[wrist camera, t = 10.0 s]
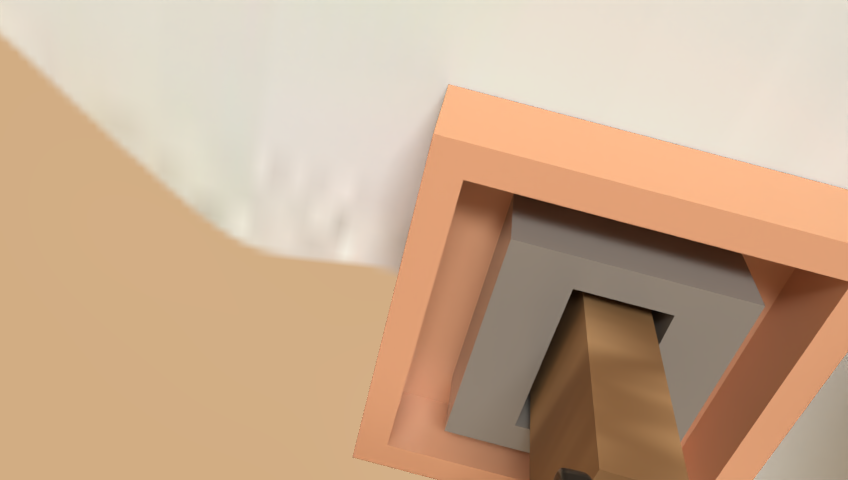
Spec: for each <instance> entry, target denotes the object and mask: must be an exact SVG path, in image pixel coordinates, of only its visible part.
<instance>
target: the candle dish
mask: <svg viewBox="0 0 848 480" xmlns="http://www.w3.org/2000/svg"><path fill="white" fill-rule="evenodd" d="M573 289H575V290H579V291H583V292H587V293H591V294H594V295H598V296H602V297H606V298H610V299H613V300H617V301H621V302H625V303H629V304H632V305H636V306H640V307H644V308H648V309H651V312H652V317H653V321H654V326H655V330H656V335H657V339H658V344H659V348H660V353H661V357H662V362H663V366H664V371H665V375H666V379H667V384H668V388H669V393H670V397H671V402H672V406H673V411H674V415H675V420H676V424H677V429H678V433H679V438H680V442H681V447H682V451H683V456H684V460H685V465H686V469H687V474H688V478H689V480H753V479H754V478H755V476H756V475H757V474H758V472H759V471H760V470H761V468H762V467H763V466H764V464H765V463H766V462H767V460H768V459H769V457H770V456H771V455H772V453H773V452H774V451H775V449H776V448H777V447H778V445H779V444H780V443H781V441H782V440H783V439H784V437H785V436H786V434H787V433H788V432H789V430H790V429H791V428H792V426H793V425H794V424H795V422H796V421H797V420H798V418H799V417H800V416H801V414H802V413H803V411H804V410H805V409H806V407H807V406H808V405H809V403H810V402H811V401H812V399H813V398H814V397H815V395H816V394H817V393H818V391H819V390H820V388H821V387H822V386H823V384H824V383H825V382H826V380H827V379H828V378H829V376H830V375H831V374H832V372H833V371H834V370H835V368H836V367H837V365H838V364H839V363H840V361H841V360H842V359H843V357H844V356H845V355H846V353H847V352H848V190H847V189H843V188H839V187H835V186H832V185H828V184H824V183H820V182H816V181H813V180H809V179H805V178H801V177H798V176H794V175H790V174H786V173H782V172H779V171H775V170H771V169H767V168H763V167H760V166H756V165H752V164H748V163H745V162H741V161H737V160H733V159H729V158H726V157H722V156H718V155H714V154H710V153H707V152H703V151H699V150H695V149H692V148H688V147H684V146H680V145H676V144H673V143H669V142H665V141H661V140H657V139H654V138H650V137H646V136H642V135H639V134H635V133H631V132H627V131H623V130H620V129H616V128H612V127H608V126H604V125H601V124H597V123H593V122H589V121H586V120H582V119H578V118H574V117H570V116H567V115H563V114H559V113H555V112H551V111H548V110H544V109H540V108H536V107H533V106H529V105H525V104H521V103H517V102H514V101H510V100H506V99H502V98H498V97H495V96H491V95H487V94H483V93H480V92H476V91H472V90H468V89H464V88H461V87H457V86H453V85H448V88H447V91H446V95H445V98H444V101H443V104H442V107H441V111H440V114H439V117H438V120H437V124H436V127H435V130H434V133H433V137H432V141H431V145H430V149H429V153H428V157H427V161H426V165H425V169H424V173H423V177H422V181H421V185H420V189H419V193H418V197H417V201H416V205H415V209H414V213H413V217H412V221H411V225H410V229H409V233H408V237H407V241H406V245H405V249H404V253H403V257H402V261H401V265H400V269H399V273H398V277H397V281H396V285H395V289H394V293H393V297H392V302H391V305H390V310H389V314H388V317H387V321H386V325H385V329H384V333H383V337H382V341H381V345H380V349H379V354H378V358H377V361H376V365H375V369H374V374H373V377H372V382H371V385H370V390H369V393H368V397H367V401H366V405H365V409H364V413H363V417H362V421H361V425H360V429H359V433H358V438H357V441H356V445H355V449H354V453H353V458H357V459H361V460H365V461H368V462H372V463H376V464H380V465H384V466H388V467H391V468H395V469H399V470H403V471H407V472H410V473H414V474H418V475H422V476H426V477H429V478H433V479H437V480H529V477H530V389H531V387H532V384H533V382H534V380H535V377H536V375H537V373H538V370H539V368H540V366H541V363H542V361H543V359H544V356H545V354H546V351H547V349H548V347H549V344H550V342H551V340H552V337H553V335H554V333H555V330H556V328H557V326H558V323H559V321H560V319H561V316H562V314H563V311H564V309H565V307H566V304H567V302H568V300H569V297H570V295H571V293H572V290H573Z"/></svg>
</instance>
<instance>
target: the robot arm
mask: <svg viewBox="0 0 848 480" xmlns="http://www.w3.org/2000/svg"><path fill="white" fill-rule="evenodd" d="M553 480H592V479H591V477H590V476H589V475H588V474H587V473H585V472H582V471H578V470H573V469H569V468H560V469H559V470H558V471H557V472H556V474H555V476H554V479H553Z"/></svg>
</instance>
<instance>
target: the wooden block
mask: <svg viewBox="0 0 848 480" xmlns="http://www.w3.org/2000/svg"><path fill="white" fill-rule="evenodd" d="M560 468H569V469H573V470H578V471H582V472H585V473H587V474H588V475H589V476H590V477H591V479H592V480H689V478H688V474H687V469H686V465H685V460H684V456H683V451H682V447H681V442H680V438H679V433H678V429H677V424H676V420H675V415H674V411H673V406H672V402H671V397H670V393H669V388H668V384H667V379H666V375H665V371H664V366H663V362H662V357H661V353H660V348H659V344H658V339H657V335H656V330H655V326H654V321H653V317H652V312H651V309H648V308H644V307H640V306H636V305H632V304H629V303H625V302H621V301H617V300H613V299H610V298H606V297H602V296H598V295H594V294H591V293H587V292H583V291H579V290H575V289H573V290H572V293H571V295H570V297H569V300H568V302H567V304H566V307H565V309H564V311H563V314H562V316H561V319H560V321H559V323H558V326H557V328H556V330H555V333H554V335H553V337H552V340H551V342H550V344H549V347H548V349H547V351H546V354H545V356H544V359H543V361H542V363H541V366H540V368H539V370H538V373H537V375H536V377H535V380H534V382H533V384H532V387H531V389H530V477H529V480H553V479H554V476H555V474H556V472H557V471H558V470H559V469H560Z"/></svg>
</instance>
